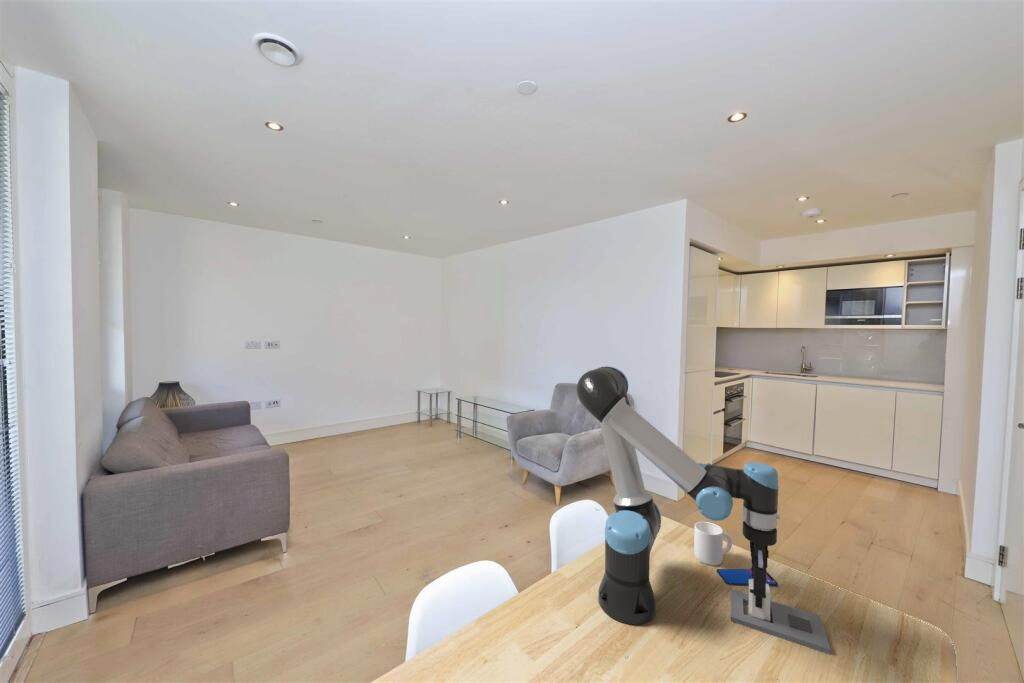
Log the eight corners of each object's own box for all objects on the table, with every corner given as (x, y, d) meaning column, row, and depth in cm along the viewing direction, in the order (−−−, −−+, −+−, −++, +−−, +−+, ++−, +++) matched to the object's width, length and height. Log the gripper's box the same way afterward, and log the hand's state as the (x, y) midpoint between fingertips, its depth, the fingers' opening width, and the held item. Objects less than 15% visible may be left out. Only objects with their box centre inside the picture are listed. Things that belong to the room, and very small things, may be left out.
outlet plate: (731, 621, 99) (731, 616, 99) (731, 593, 109) (731, 588, 109) (830, 654, 89) (830, 649, 89) (819, 619, 99) (820, 615, 99)
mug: (724, 550, 130) (725, 521, 129) (739, 566, 121) (740, 534, 121) (689, 551, 130) (689, 521, 129) (702, 566, 121) (702, 534, 121)
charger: (749, 615, 100) (749, 588, 100) (748, 604, 104) (748, 578, 104) (770, 621, 98) (770, 594, 97) (768, 610, 102) (768, 583, 101)
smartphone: (715, 568, 120) (764, 569, 119) (715, 571, 120) (764, 571, 119) (727, 584, 112) (779, 585, 112) (727, 587, 113) (779, 587, 112)
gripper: (780, 544, 91) (778, 640, 91) (773, 513, 106) (771, 595, 107) (743, 536, 94) (741, 627, 95) (742, 506, 109) (740, 586, 110)
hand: (757, 610), depth 101 cm, fingers closed on charger, 4 cm apart
